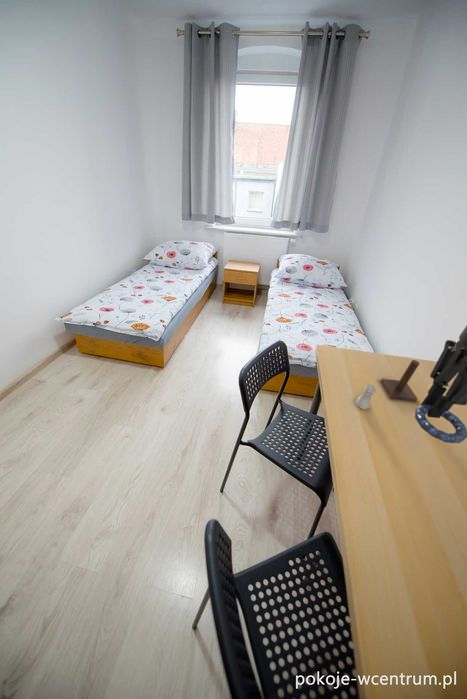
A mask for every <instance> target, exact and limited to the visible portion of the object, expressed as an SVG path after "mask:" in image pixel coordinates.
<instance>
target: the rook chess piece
mask: <svg viewBox="0 0 467 699" xmlns="http://www.w3.org/2000/svg"><path fill="white" fill-rule="evenodd" d="M376 390H377V389H376V386H374V385H373V384H372V385H371V384H368V385H366V386H365V387H364V390H363V394H362V395H360V396H358V397H357V398H356V400H355V404H356V406H357V407H358V408H360V409H362V410H367V409H369V408H370V407H371V398H372V396H374V394H375V393H376V392H377V391H376Z"/></svg>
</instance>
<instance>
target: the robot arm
mask: <svg viewBox="0 0 467 699" xmlns="http://www.w3.org/2000/svg"><path fill="white" fill-rule="evenodd" d="M429 377H430V378H431V379H432V380H433V381H432V385H431V386H430V387H429V389H428V391H427V395H426V397H425V398H424V399H423V401H422V402H421V403H420V406H422V405H424V404H428V405H433V407H432V408H431V409H430V411H429V412H428V413H426V417H428V418H435V419H440V418H441V416H442V414H443V413H444V412H445V411H450V409H452V407H453V406H454V405H456V406H457V405H458V406H467V325H466V326H465V327H464V329H463V330H462V331H461V333H460V334H459V336H458V340H451V339H447V340H445V343H444V346H443V350H442V352H441V354H440V355H439V358H438V359H437V361H436V363H435V365H434V367H433V368H432V370H431V373H430V374H429ZM453 379H454V380H453ZM452 380H453V382H452V383H451V385H449V383H450V382H451V381H452ZM446 387H449V388H448V390H447V388H446ZM444 394H445V395H444Z"/></svg>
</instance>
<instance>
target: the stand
mask: <svg viewBox="0 0 467 699" xmlns="http://www.w3.org/2000/svg"><path fill="white" fill-rule="evenodd" d="M419 366H420V361H417V360H415V359H411V361H410V363H409V365H408V366H407V368H406V369H405V371H404V372H403V374H402V375H401V377H400V379H399V380H398V379H388V378H381V379H380V384H381V385H382V387H383V389H384V390H385V392H386V394H387V395H388V397H389V399H390V400H396V401H397V400H398V401H405V402H415V403H416V402H417V400H418V397H417V396H416V394H415V392H414V391H413V390H412V388H411V386H410V385H409V384H408V383H409V381H410V380H411V378H412V377H413V375H414V373H415V372H416V370H417V369H418V367H419Z"/></svg>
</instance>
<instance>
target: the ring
mask: <svg viewBox="0 0 467 699" xmlns="http://www.w3.org/2000/svg"><path fill="white" fill-rule="evenodd" d="M432 407H433V405H428V404H424V405H422V406H421V405H420V406H418V407H416V409H415V412H414V418H415V420H416V422H417V424H418V425H419V426H420V428H421V429H422V430H423V431H424V432H426V433H427V434H428V435H430V436H431V437H433V438H435V439H438V440H439V441H441V442H443V443H448V444H449V443H450V444H461V443H463V442H464V441H465V440H467V427H466V425H465V424H464V422H463V421H462V420H461V419H460V417H458V416H457V415H456V414H454V413H453V412H451V410H449V411H445V412H444V413H443V414H442V416H441V417H442V418H443V419H444V420H446V421H447V422H449V423H450V424H451V426H452V427H453V428H454V430H455V432H454V433H451V432H450V433H449V432H446V431H443V430H441V429H439V428H437V427H436V426H435V425H433V424H432V423H431V422H430V421H429V419H427V416H426V415H427V413H428V412H429V411H430V409H431V408H432ZM441 417H440V418H441Z"/></svg>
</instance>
